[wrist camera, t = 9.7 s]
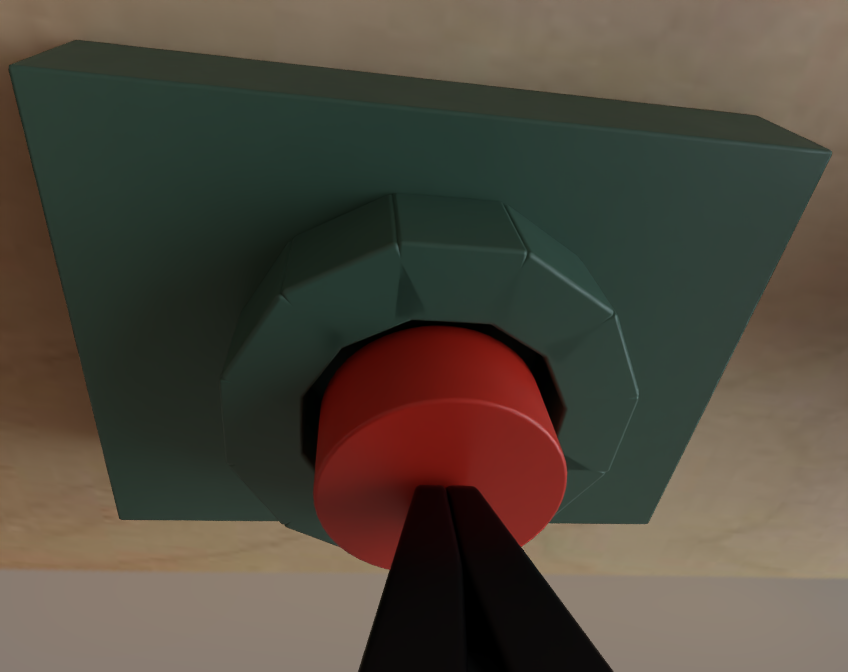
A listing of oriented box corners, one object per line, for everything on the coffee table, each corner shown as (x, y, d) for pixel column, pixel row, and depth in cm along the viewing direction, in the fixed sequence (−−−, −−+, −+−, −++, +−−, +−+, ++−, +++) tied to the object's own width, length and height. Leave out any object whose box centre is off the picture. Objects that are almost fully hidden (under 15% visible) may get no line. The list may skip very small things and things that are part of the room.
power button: (318, 488, 11) (310, 575, 9) (322, 317, 9) (314, 394, 7) (513, 490, 11) (537, 574, 10) (561, 329, 9) (599, 405, 8)
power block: (149, 447, 14) (86, 599, 11) (72, 38, 10) (-81, 96, 6) (616, 458, 16) (682, 594, 13) (758, 115, 11) (925, 192, 8)
